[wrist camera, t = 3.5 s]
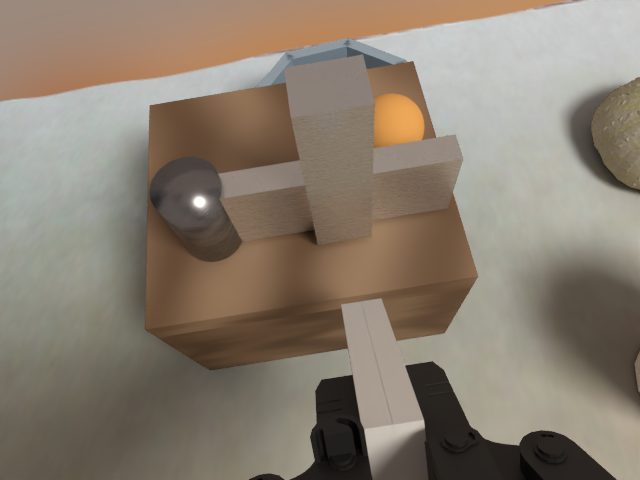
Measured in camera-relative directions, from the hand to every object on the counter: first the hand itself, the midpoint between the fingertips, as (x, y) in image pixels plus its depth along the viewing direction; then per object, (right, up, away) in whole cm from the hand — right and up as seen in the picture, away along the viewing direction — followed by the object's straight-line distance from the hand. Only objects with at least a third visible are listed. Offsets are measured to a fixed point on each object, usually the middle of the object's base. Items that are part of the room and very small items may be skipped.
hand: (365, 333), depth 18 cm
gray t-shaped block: (-2, +4, +5) cm, 7 cm away
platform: (-2, +2, +15) cm, 16 cm away
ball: (+2, +9, +5) cm, 10 cm away
